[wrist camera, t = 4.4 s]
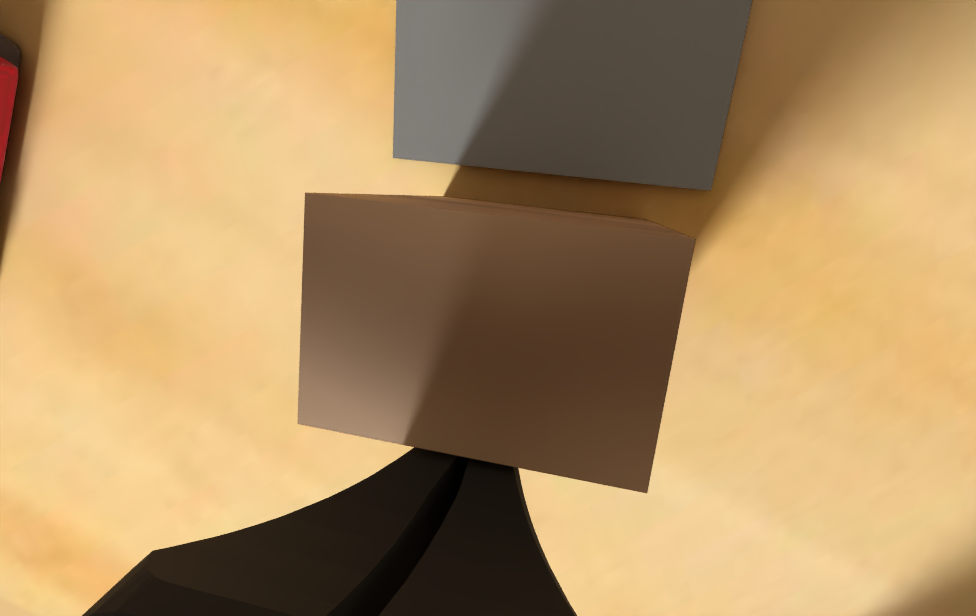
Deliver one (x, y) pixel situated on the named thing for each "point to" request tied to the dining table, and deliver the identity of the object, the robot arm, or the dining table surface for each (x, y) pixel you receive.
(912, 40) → the dining table surface
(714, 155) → the mat
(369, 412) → the walnut block
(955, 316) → the dining table surface
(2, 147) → the calculator
